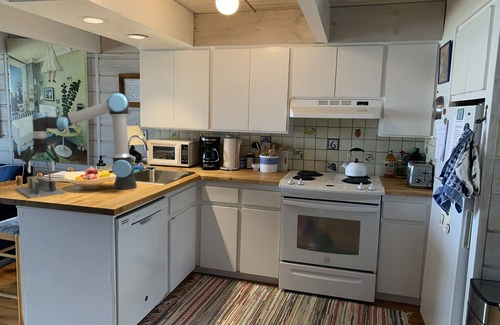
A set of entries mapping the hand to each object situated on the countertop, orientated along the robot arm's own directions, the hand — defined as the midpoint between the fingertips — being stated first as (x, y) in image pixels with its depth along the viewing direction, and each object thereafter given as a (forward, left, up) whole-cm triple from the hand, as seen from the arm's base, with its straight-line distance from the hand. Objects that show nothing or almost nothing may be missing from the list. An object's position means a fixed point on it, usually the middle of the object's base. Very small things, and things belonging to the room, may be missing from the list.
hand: (41, 171), depth 226 cm
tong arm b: (+4, +1, -12) cm, 13 cm away
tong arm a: (+1, -5, -12) cm, 13 cm away
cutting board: (+4, -3, -14) cm, 15 cm away
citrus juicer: (+23, -26, -14) cm, 38 cm away
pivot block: (+13, -9, -13) cm, 20 cm away
